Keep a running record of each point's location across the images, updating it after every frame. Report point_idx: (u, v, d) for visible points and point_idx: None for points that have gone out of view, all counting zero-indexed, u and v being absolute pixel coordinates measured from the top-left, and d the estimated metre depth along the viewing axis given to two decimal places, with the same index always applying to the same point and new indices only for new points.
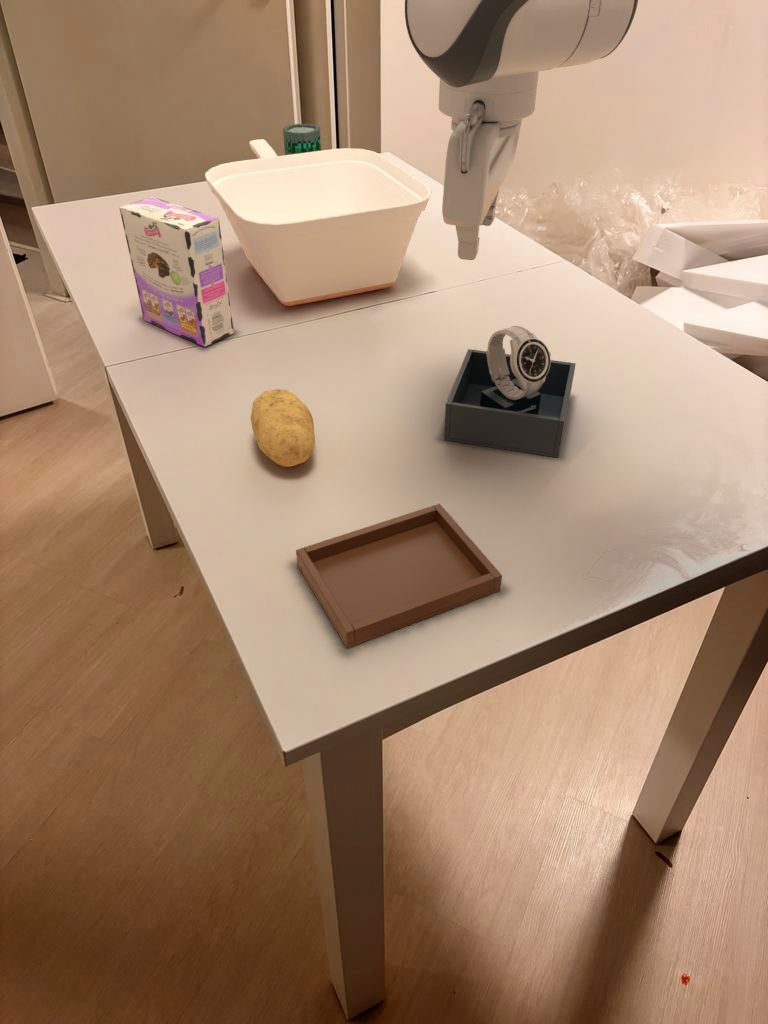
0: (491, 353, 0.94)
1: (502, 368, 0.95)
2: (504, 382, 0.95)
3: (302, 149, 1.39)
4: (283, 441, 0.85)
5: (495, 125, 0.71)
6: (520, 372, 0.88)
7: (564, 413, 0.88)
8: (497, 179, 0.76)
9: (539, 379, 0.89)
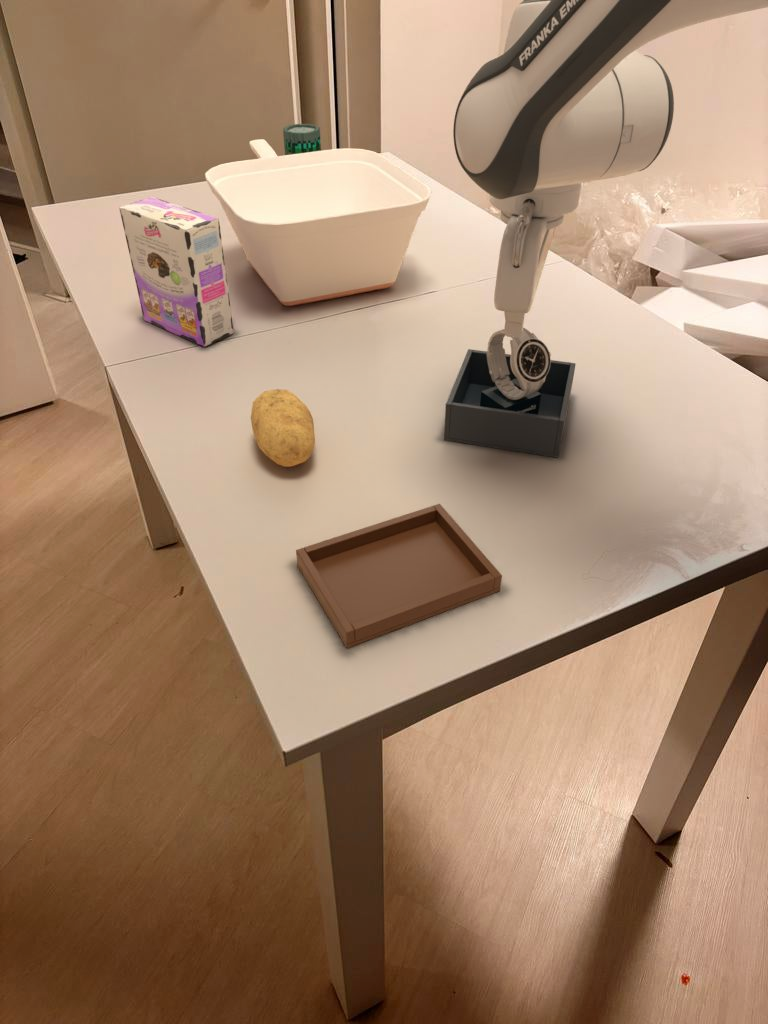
0: (491, 353, 0.94)
1: (502, 368, 0.95)
2: (504, 382, 0.95)
3: (302, 149, 1.39)
4: (283, 441, 0.85)
5: (544, 221, 0.77)
6: (520, 372, 0.88)
7: (564, 413, 0.88)
8: (542, 264, 0.82)
9: (539, 379, 0.89)
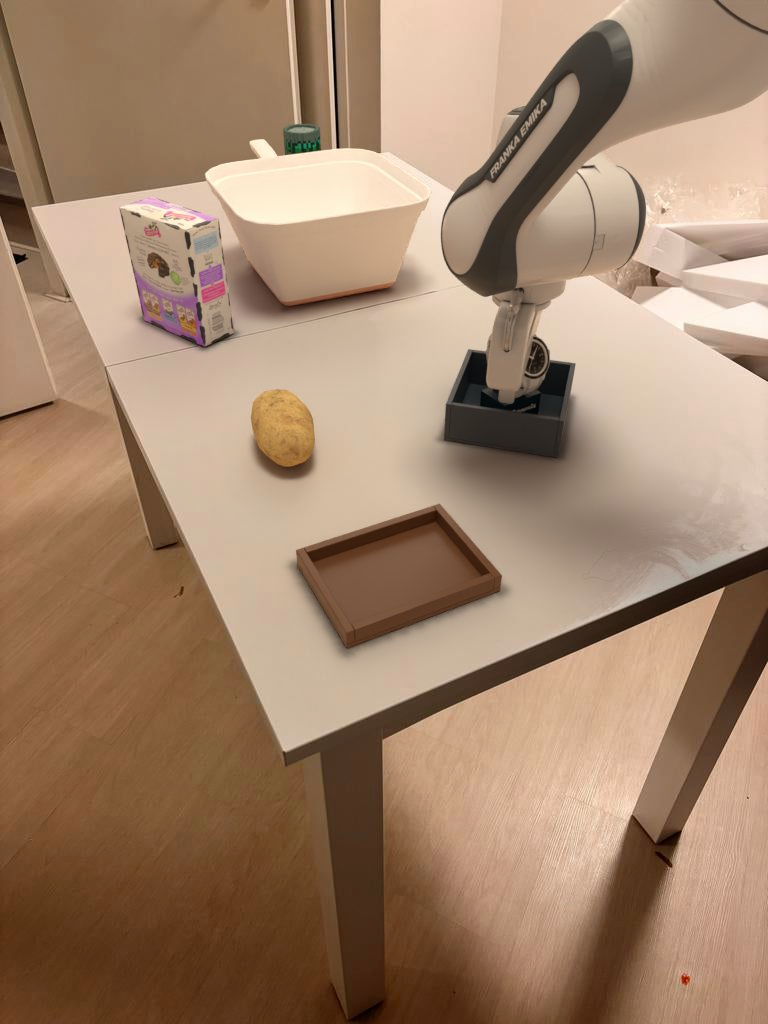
0: None
1: None
2: None
3: (302, 149, 1.39)
4: (283, 441, 0.85)
5: (532, 306, 0.82)
6: None
7: (564, 413, 0.88)
8: (531, 342, 0.88)
9: (538, 376, 0.89)
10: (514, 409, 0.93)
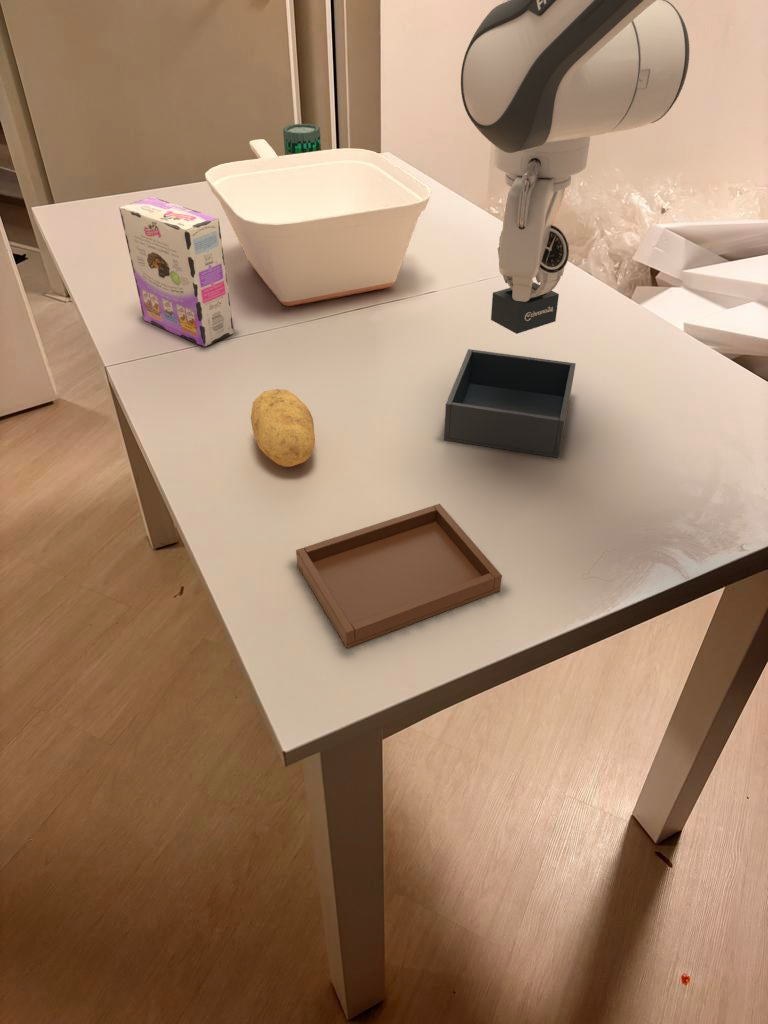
0: None
1: None
2: None
3: (302, 149, 1.39)
4: (283, 441, 0.85)
5: (550, 181, 0.74)
6: None
7: (564, 413, 0.88)
8: (549, 229, 0.79)
9: (557, 270, 0.81)
10: (529, 311, 0.85)
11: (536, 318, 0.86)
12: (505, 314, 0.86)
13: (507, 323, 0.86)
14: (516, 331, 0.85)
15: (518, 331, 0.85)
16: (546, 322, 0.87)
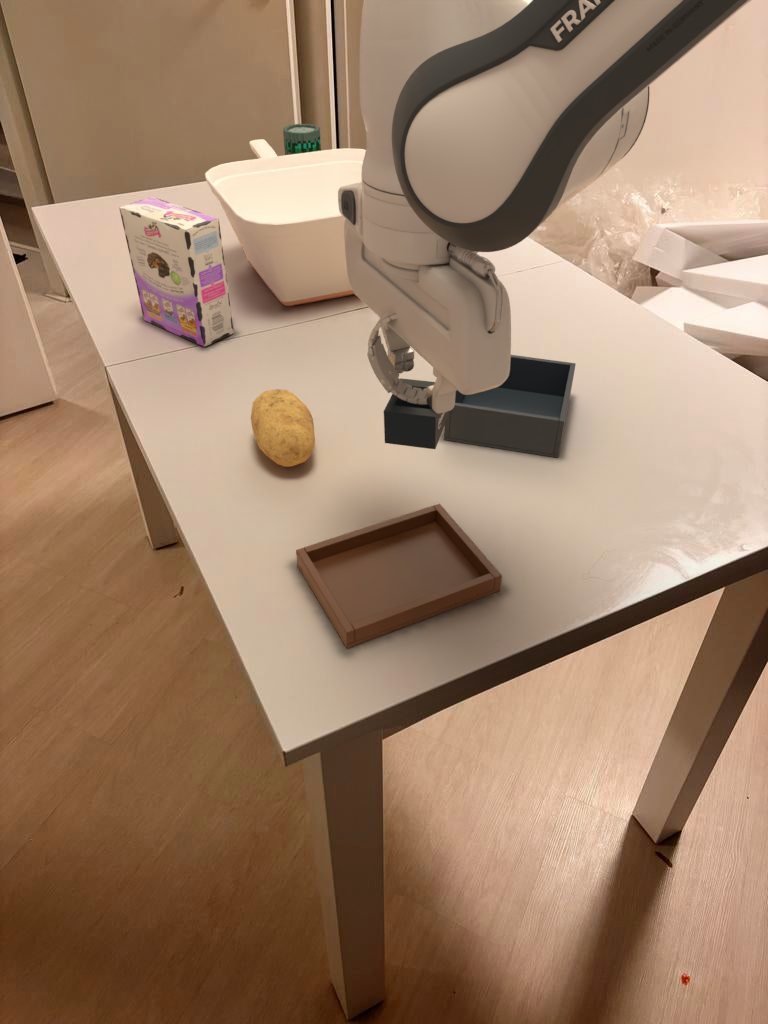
0: (376, 355, 0.64)
1: (391, 370, 0.66)
2: (401, 388, 0.67)
3: (302, 149, 1.39)
4: (283, 441, 0.85)
5: None
6: None
7: (564, 413, 0.88)
8: None
9: None
10: (439, 417, 0.66)
11: (442, 421, 0.67)
12: (412, 431, 0.66)
13: (416, 441, 0.66)
14: (435, 447, 0.66)
15: (436, 445, 0.66)
16: (445, 420, 0.69)
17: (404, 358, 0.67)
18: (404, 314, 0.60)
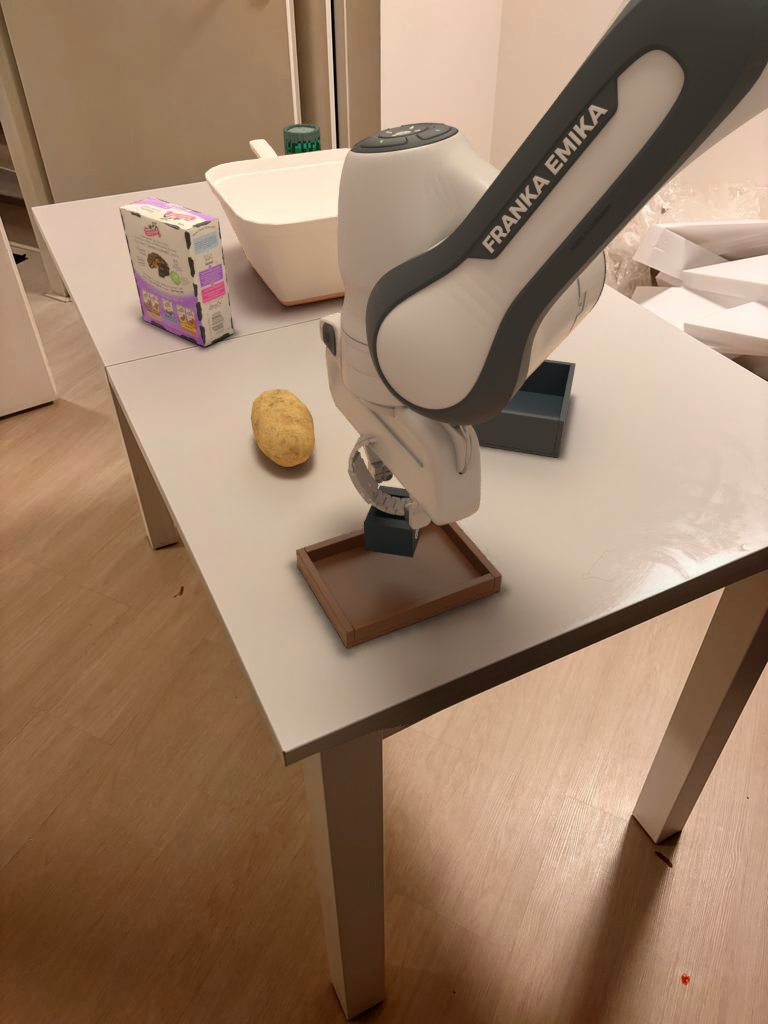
0: (356, 471, 0.68)
1: (370, 482, 0.70)
2: (380, 498, 0.70)
3: (302, 149, 1.39)
4: (283, 441, 0.85)
5: None
6: None
7: (564, 413, 0.88)
8: None
9: None
10: None
11: (419, 529, 0.71)
12: (390, 541, 0.69)
13: (395, 549, 0.70)
14: (412, 555, 0.70)
15: (413, 554, 0.70)
16: None
17: (383, 470, 0.71)
18: (381, 440, 0.64)
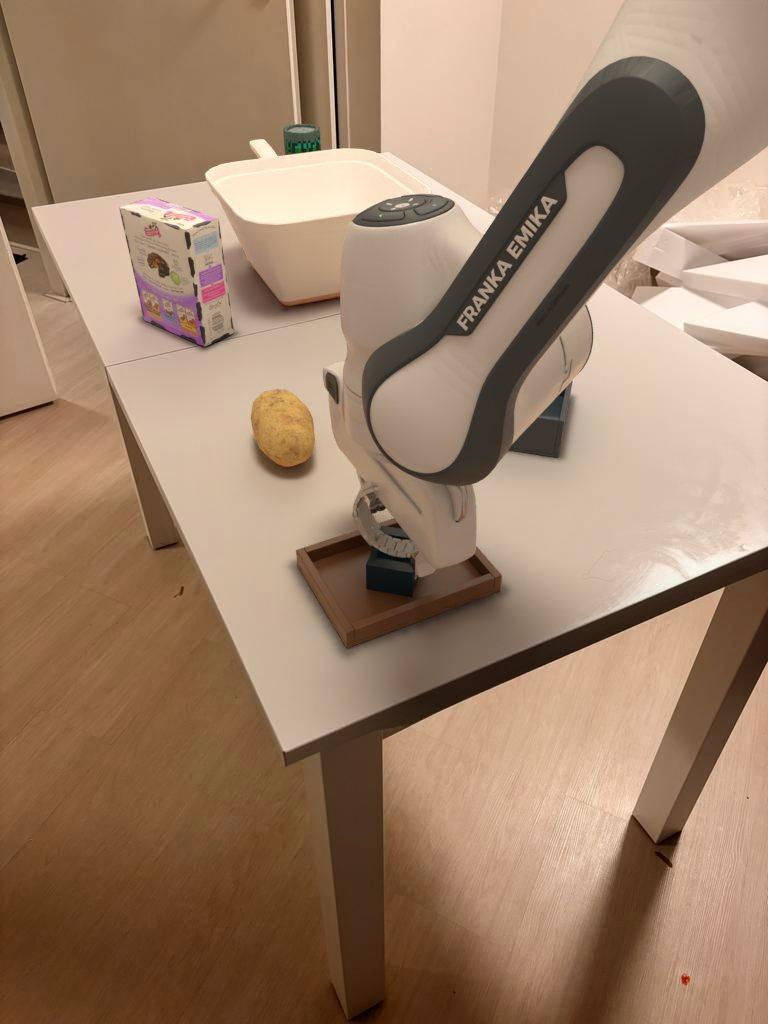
0: (359, 515, 0.71)
1: (373, 525, 0.73)
2: (382, 540, 0.73)
3: (302, 149, 1.39)
4: (283, 441, 0.85)
5: None
6: None
7: (564, 413, 0.88)
8: None
9: None
10: None
11: None
12: (391, 582, 0.72)
13: (395, 589, 0.73)
14: (411, 595, 0.73)
15: (412, 594, 0.73)
16: None
17: (377, 501, 0.74)
18: (382, 484, 0.67)
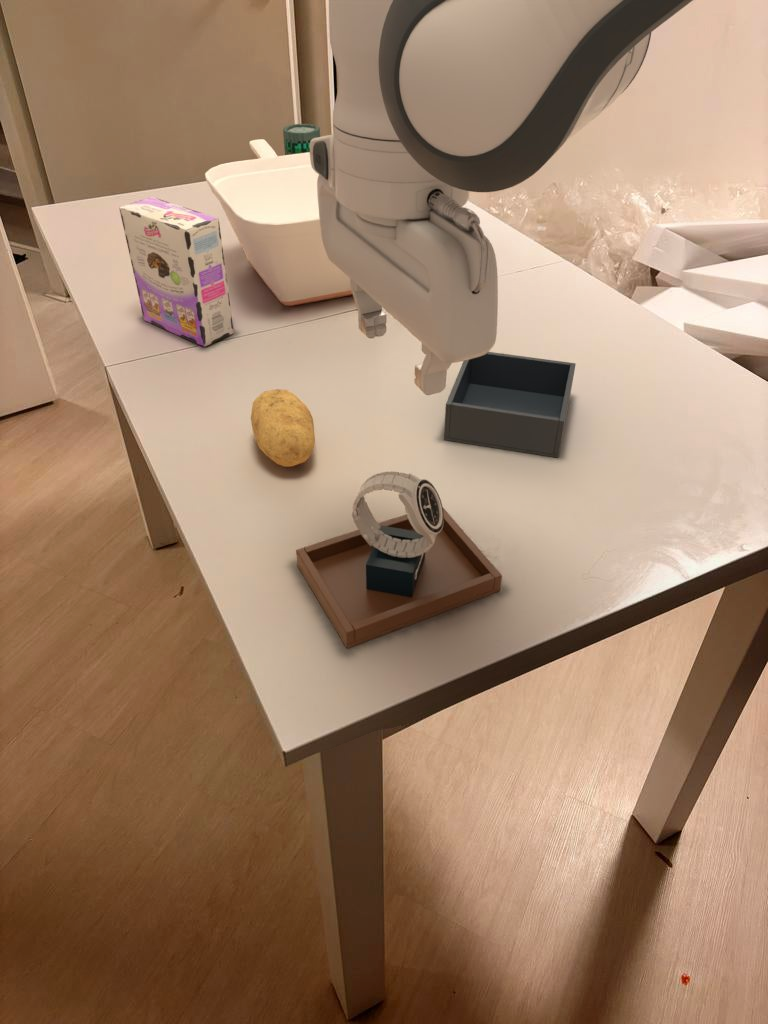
0: (359, 515, 0.71)
1: (373, 525, 0.73)
2: (382, 540, 0.73)
3: (302, 149, 1.39)
4: (283, 441, 0.85)
5: None
6: (429, 528, 0.68)
7: (564, 413, 0.88)
8: None
9: (442, 523, 0.70)
10: (416, 569, 0.73)
11: (418, 569, 0.74)
12: (391, 582, 0.72)
13: (395, 589, 0.73)
14: (411, 595, 0.73)
15: (412, 594, 0.73)
16: (421, 565, 0.76)
17: (375, 322, 0.63)
18: (381, 278, 0.55)
